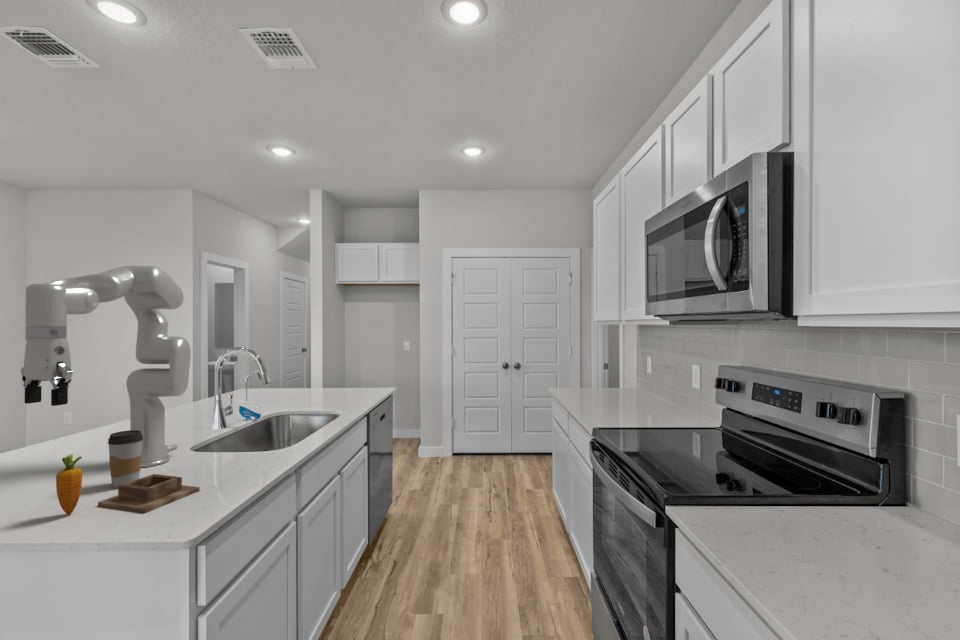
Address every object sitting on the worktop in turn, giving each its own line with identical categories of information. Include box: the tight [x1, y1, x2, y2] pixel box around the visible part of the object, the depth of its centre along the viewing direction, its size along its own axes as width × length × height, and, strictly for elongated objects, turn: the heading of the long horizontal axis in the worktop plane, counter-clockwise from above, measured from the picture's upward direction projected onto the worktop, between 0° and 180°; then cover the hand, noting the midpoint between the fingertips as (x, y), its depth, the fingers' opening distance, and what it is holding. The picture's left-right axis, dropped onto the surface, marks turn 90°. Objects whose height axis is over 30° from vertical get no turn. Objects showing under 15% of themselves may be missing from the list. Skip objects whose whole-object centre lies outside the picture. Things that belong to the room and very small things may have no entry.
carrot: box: [55, 453, 83, 516], centre depth 117 cm, size 5×5×15 cm
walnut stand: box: [97, 473, 201, 514], centre depth 128 cm, size 16×16×4 cm
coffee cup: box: [107, 430, 143, 489], centre depth 138 cm, size 8×8×15 cm
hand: (46, 403), depth 117 cm, fingers open, 9 cm apart
